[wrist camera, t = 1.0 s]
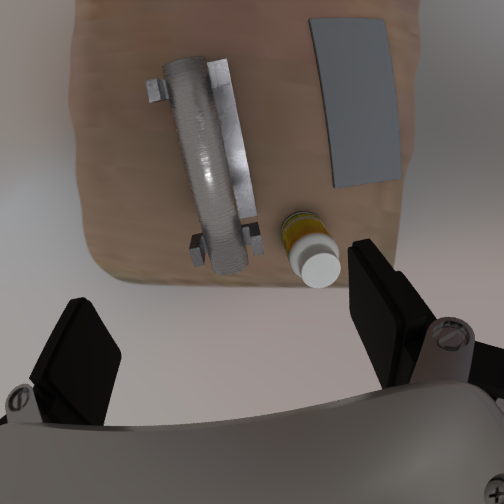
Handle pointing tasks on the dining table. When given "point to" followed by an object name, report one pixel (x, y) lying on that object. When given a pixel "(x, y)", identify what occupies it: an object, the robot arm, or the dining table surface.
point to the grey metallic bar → (206, 162)
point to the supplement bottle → (311, 249)
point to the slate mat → (358, 99)
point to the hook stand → (233, 153)
